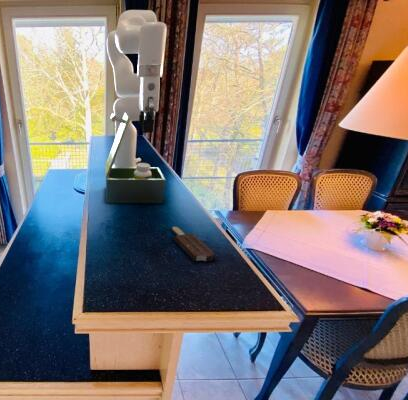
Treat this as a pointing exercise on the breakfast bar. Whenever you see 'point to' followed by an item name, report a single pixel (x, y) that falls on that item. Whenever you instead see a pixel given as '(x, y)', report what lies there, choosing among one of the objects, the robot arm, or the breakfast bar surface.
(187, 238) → the ice cream bar
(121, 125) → the bin lid
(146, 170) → the pill bottle
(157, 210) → the breakfast bar surface
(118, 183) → the bin
